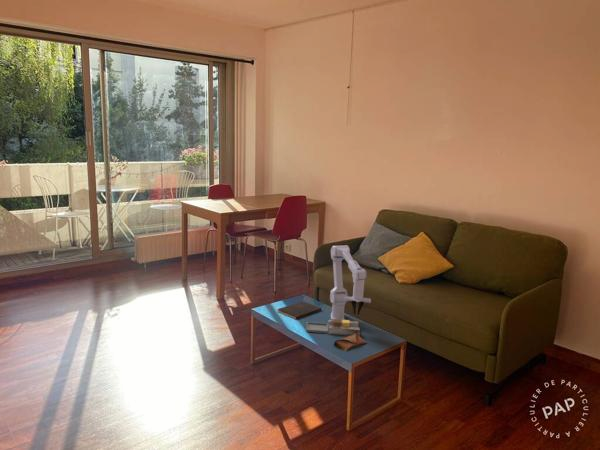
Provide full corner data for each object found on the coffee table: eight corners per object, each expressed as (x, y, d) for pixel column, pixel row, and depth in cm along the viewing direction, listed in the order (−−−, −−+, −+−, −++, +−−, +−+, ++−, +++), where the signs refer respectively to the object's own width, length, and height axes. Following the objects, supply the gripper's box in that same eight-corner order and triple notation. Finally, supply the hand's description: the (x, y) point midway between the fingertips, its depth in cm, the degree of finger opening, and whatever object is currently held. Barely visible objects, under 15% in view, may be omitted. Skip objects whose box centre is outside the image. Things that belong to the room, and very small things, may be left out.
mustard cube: (341, 326, 267) (342, 319, 266) (348, 326, 267) (349, 320, 266) (341, 329, 263) (342, 322, 262) (349, 329, 263) (349, 322, 262)
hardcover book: (277, 312, 287) (277, 309, 287) (302, 304, 304) (302, 301, 304) (296, 320, 277) (296, 317, 276) (321, 311, 293) (321, 308, 293)
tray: (306, 324, 271) (306, 321, 271) (327, 325, 271) (327, 323, 270) (306, 331, 260) (306, 329, 260) (327, 333, 260) (328, 331, 260)
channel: (328, 325, 271) (328, 319, 270) (357, 327, 271) (358, 321, 270) (328, 333, 259) (329, 327, 259) (359, 336, 259) (359, 329, 258)
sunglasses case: (346, 351, 238) (341, 339, 240) (336, 354, 243) (332, 341, 245) (368, 342, 251) (363, 330, 252) (358, 345, 256) (354, 333, 257)
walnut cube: (332, 325, 267) (333, 319, 266) (339, 326, 267) (340, 319, 266) (333, 328, 263) (333, 321, 262) (340, 329, 263) (340, 322, 262)
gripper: (345, 292, 257) (343, 315, 259) (372, 294, 256) (370, 317, 259) (344, 288, 264) (343, 311, 266) (370, 289, 263) (368, 312, 266)
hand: (356, 313), depth 263 cm, fingers closed
